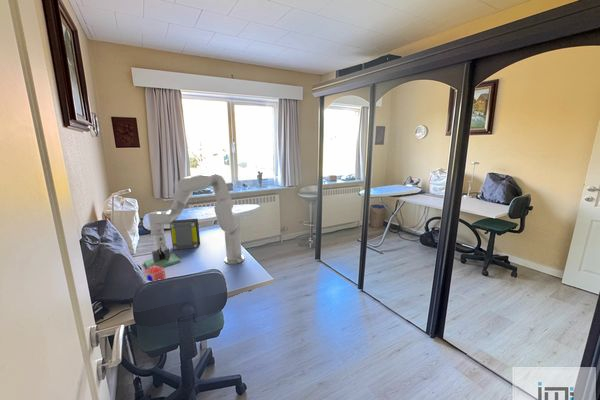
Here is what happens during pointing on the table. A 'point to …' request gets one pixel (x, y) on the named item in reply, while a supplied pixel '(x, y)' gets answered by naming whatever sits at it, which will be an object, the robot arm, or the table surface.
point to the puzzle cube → (154, 273)
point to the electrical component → (185, 234)
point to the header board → (162, 261)
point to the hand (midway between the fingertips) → (161, 257)
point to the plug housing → (156, 254)
